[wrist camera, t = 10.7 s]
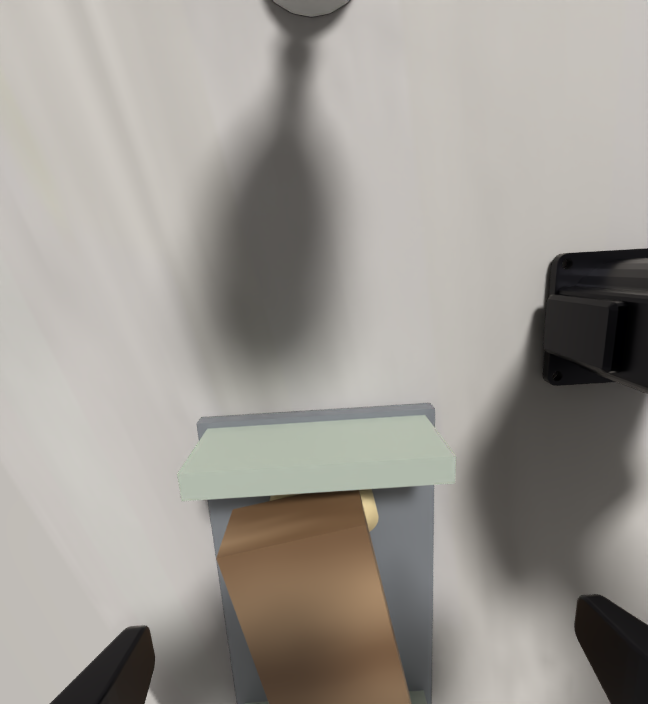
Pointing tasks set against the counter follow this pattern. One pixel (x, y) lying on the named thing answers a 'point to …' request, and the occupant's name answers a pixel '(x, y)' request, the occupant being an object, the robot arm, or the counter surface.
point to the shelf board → (312, 601)
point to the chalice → (311, 6)
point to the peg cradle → (326, 476)
